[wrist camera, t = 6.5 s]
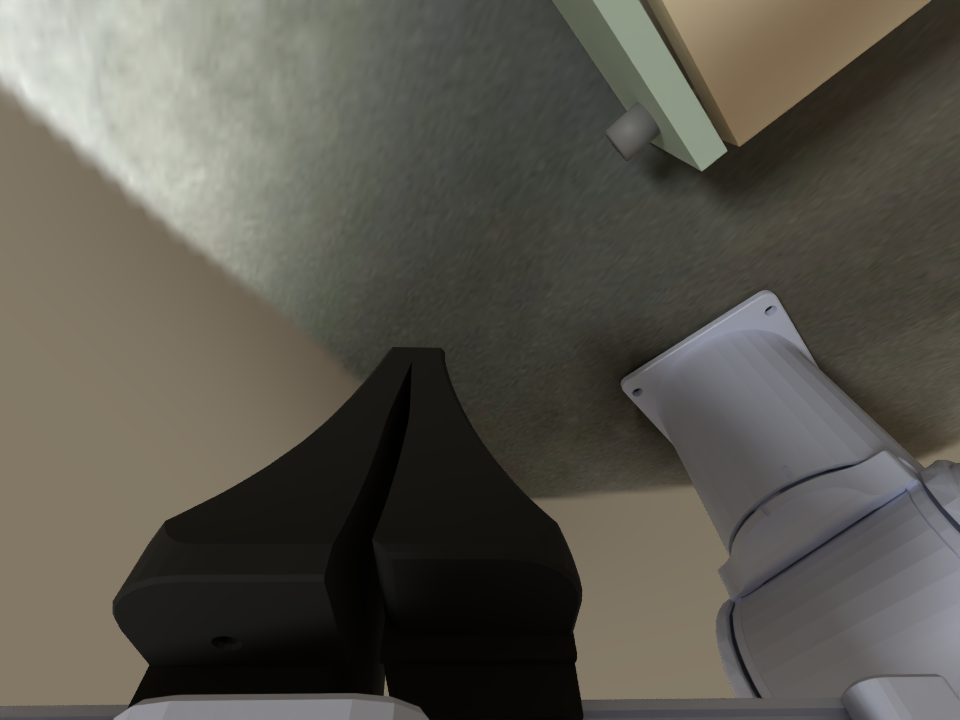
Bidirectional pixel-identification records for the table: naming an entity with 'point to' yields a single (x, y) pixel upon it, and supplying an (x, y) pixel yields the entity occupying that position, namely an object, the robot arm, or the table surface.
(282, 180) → the table surface
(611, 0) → the cabinet door
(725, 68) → the cabinet
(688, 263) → the table surface
